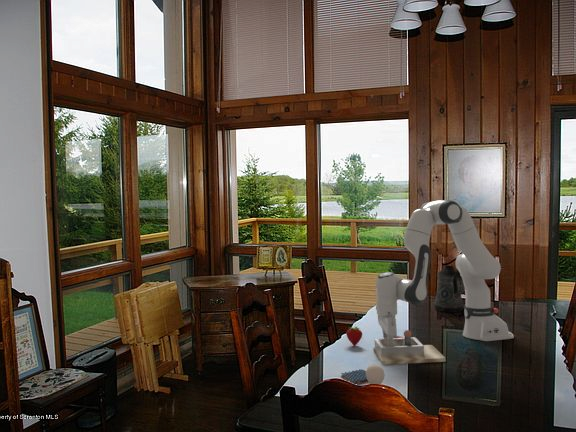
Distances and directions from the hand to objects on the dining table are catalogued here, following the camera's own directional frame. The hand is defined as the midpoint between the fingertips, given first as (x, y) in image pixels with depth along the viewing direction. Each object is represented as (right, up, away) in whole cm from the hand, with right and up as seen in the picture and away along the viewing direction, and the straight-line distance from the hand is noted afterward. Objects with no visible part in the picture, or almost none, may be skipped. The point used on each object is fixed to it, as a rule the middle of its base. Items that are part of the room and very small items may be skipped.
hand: (387, 341), depth 225 cm
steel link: (+4, -3, -5) cm, 7 cm away
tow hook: (+7, -4, +17) cm, 19 cm away
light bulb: (-13, -8, -47) cm, 50 cm away
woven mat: (-17, -8, -30) cm, 36 cm away
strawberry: (-13, -5, +11) cm, 18 cm away
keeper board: (+7, -5, -7) cm, 11 cm away
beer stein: (+51, +1, +72) cm, 89 cm away
